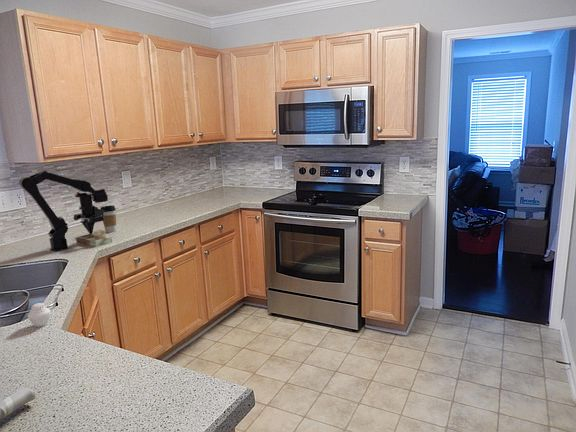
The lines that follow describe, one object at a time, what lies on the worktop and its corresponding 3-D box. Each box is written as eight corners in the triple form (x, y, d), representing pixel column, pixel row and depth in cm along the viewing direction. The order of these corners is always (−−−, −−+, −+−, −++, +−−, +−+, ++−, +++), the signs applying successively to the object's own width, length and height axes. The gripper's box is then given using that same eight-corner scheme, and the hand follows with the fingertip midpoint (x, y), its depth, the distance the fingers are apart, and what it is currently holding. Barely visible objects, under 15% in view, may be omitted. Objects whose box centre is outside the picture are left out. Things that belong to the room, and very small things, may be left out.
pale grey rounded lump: (55, 319, 136) (51, 298, 135) (48, 327, 131) (44, 306, 129) (34, 321, 136) (30, 300, 134) (26, 330, 130) (21, 308, 128)
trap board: (96, 246, 219) (95, 241, 219) (76, 243, 229) (75, 237, 229) (112, 242, 227) (111, 236, 226) (92, 238, 237) (91, 233, 236)
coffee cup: (102, 233, 246) (98, 208, 243) (104, 230, 254) (100, 205, 251) (118, 232, 249) (114, 206, 245) (119, 228, 257) (115, 204, 253)
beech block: (99, 239, 221) (98, 232, 220) (94, 238, 223) (93, 231, 223) (106, 237, 224) (105, 230, 224) (101, 237, 227) (100, 229, 226)
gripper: (111, 202, 226) (115, 231, 229) (90, 200, 236) (94, 228, 240) (91, 206, 217) (96, 237, 220) (70, 204, 228) (75, 233, 231)
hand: (91, 233), depth 228 cm, fingers closed
